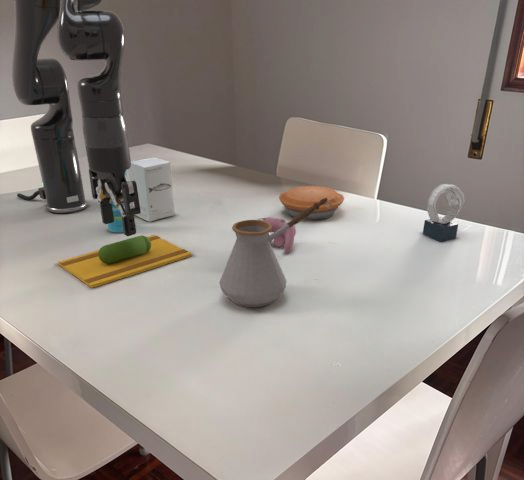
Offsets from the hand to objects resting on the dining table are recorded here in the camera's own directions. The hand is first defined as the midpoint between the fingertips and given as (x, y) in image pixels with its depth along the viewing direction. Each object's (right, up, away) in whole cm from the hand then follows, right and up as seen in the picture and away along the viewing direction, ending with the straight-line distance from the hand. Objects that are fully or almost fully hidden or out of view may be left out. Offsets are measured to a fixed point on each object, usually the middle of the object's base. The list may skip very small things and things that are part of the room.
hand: (119, 228), depth 109 cm
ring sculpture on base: (+66, +1, +13) cm, 67 cm away
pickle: (+1, -5, +3) cm, 6 cm away
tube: (-4, +4, +18) cm, 19 cm away
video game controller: (+30, -2, +9) cm, 31 cm away
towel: (+1, -6, +3) cm, 7 cm away
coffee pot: (+30, -13, -9) cm, 34 cm away
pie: (+40, +10, +27) cm, 49 cm away
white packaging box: (+2, +9, +26) cm, 28 cm away
